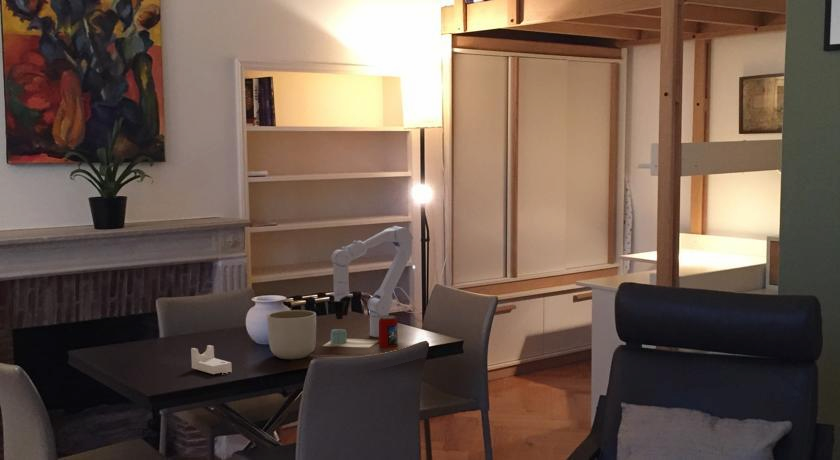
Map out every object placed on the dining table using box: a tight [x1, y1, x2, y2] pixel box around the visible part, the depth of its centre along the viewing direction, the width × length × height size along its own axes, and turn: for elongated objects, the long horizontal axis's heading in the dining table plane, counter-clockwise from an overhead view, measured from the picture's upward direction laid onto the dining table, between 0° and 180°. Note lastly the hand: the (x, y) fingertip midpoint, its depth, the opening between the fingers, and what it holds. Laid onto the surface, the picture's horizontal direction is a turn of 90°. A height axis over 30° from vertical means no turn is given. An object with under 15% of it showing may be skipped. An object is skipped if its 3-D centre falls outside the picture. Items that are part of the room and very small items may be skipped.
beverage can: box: [378, 314, 399, 349], centre depth 346 cm, size 7×7×12 cm
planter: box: [266, 309, 317, 360], centre depth 336 cm, size 17×17×15 cm
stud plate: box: [322, 338, 379, 349], centre depth 353 cm, size 14×18×4 cm
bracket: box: [190, 344, 233, 375], centre depth 316 cm, size 13×7×8 cm, turn 45°
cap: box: [330, 328, 348, 344], centre depth 354 cm, size 6×6×4 cm
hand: (341, 317), depth 361 cm, fingers open, 7 cm apart
